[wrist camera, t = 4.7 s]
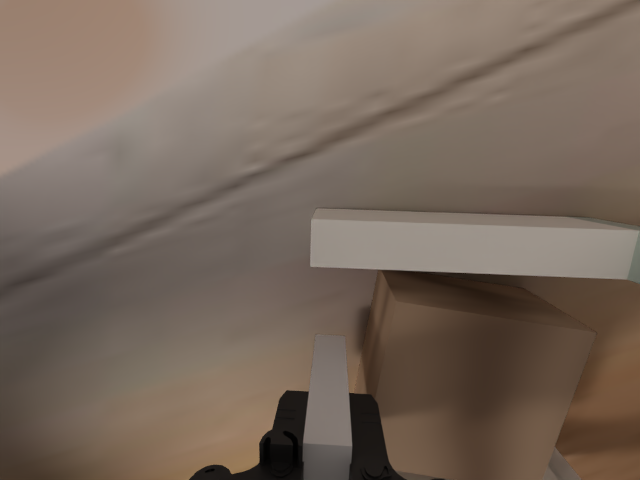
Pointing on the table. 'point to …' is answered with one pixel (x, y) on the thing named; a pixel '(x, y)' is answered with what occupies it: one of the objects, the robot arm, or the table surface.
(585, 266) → the chute
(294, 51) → the table surface
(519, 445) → the block
